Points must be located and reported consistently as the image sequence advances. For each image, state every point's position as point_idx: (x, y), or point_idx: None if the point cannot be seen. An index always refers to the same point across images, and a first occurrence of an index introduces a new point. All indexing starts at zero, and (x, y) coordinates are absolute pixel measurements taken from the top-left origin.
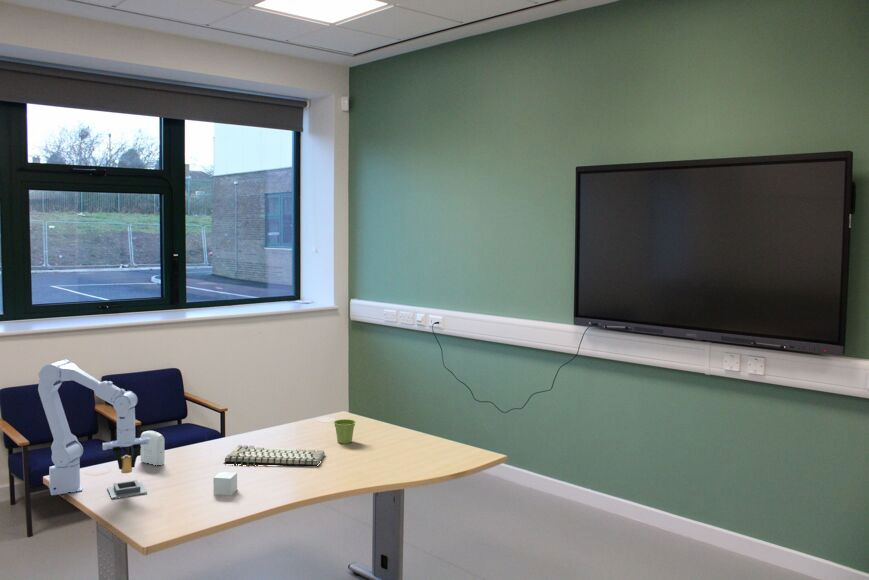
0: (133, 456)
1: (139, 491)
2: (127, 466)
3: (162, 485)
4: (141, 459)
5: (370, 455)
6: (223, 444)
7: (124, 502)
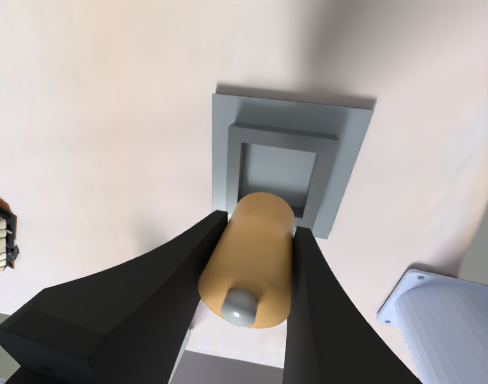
0: (181, 261)
1: (238, 121)
2: (259, 218)
3: (154, 155)
4: (187, 336)
5: None
6: None
7: (340, 19)
